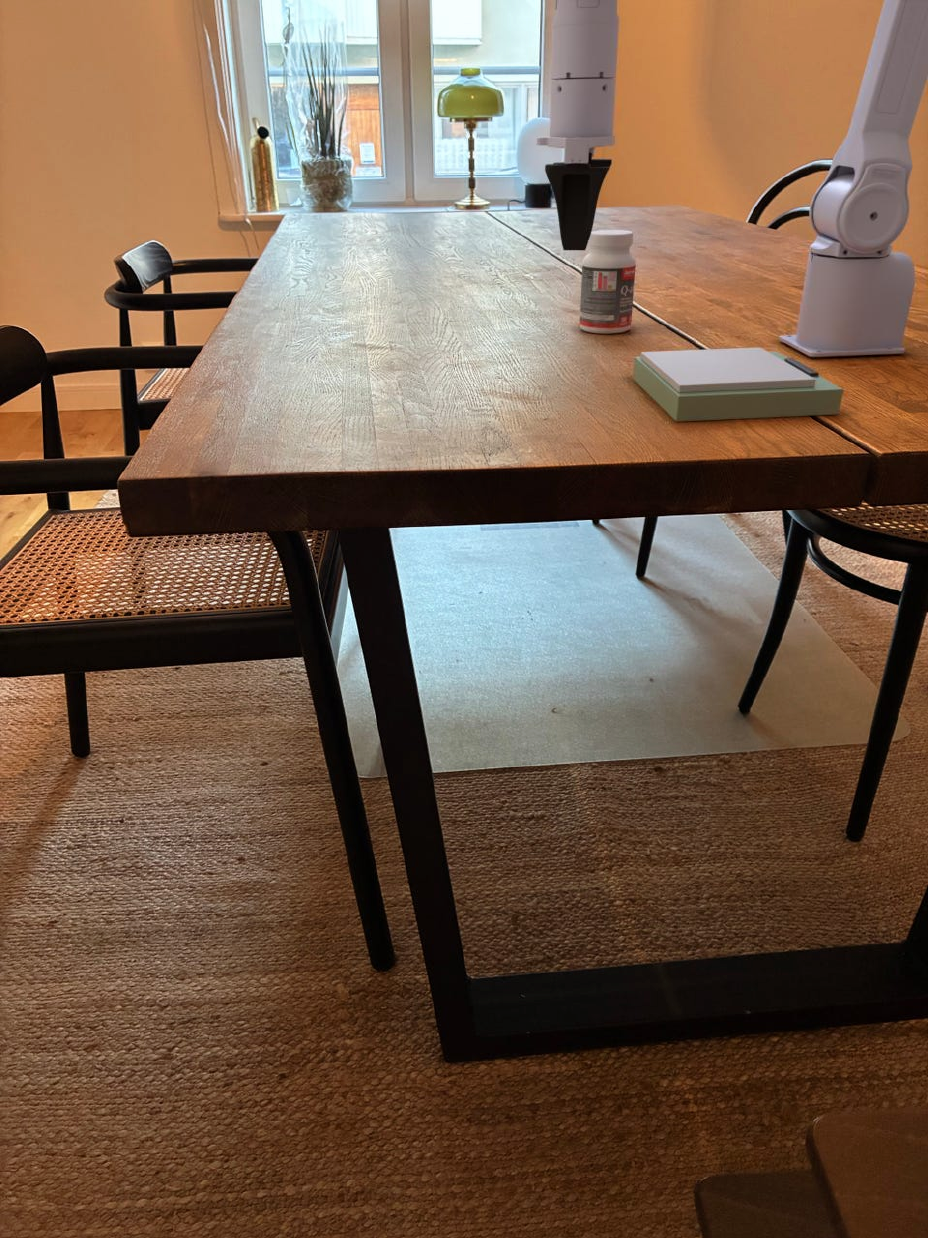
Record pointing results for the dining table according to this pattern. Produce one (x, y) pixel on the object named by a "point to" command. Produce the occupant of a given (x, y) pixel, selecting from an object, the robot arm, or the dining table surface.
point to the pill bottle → (608, 283)
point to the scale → (734, 384)
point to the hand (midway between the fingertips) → (576, 244)
